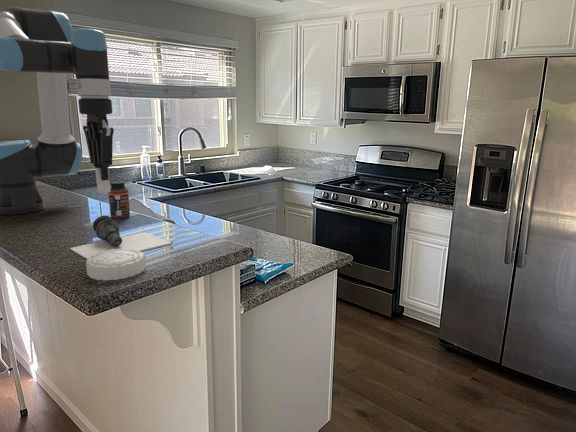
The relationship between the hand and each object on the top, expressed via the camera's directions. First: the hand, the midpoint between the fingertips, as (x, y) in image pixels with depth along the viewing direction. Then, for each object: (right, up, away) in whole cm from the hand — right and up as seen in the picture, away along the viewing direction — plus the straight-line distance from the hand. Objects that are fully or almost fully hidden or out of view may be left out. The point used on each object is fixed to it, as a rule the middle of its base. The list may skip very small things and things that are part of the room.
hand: (104, 192), depth 114 cm
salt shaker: (-2, -8, +3) cm, 9 cm away
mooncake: (+10, -18, -18) cm, 27 cm away
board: (+5, -14, -2) cm, 15 cm away
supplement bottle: (-7, -7, +29) cm, 30 cm away
